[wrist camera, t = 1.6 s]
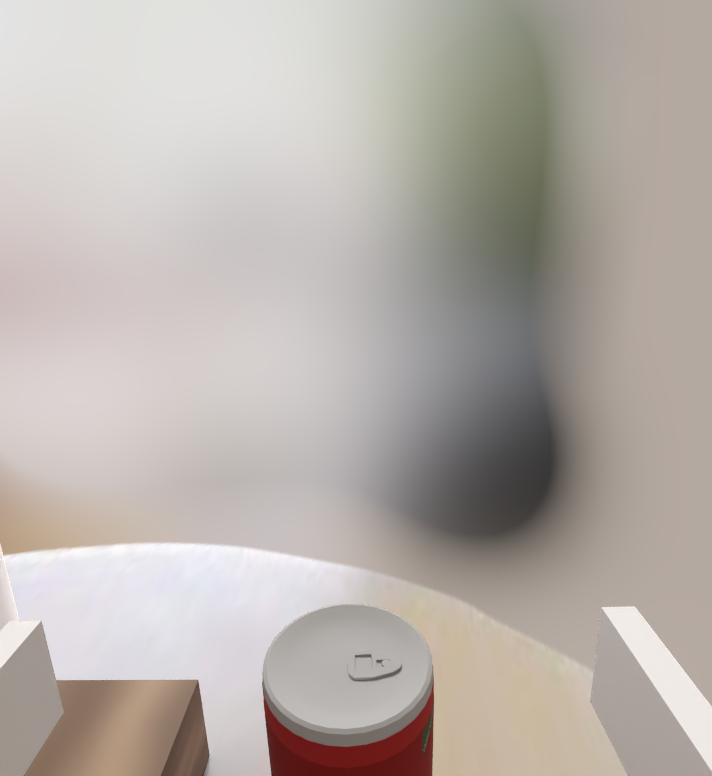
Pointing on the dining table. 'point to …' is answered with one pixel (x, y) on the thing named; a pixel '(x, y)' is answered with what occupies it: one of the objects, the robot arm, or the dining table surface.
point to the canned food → (349, 695)
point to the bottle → (6, 596)
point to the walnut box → (126, 730)
